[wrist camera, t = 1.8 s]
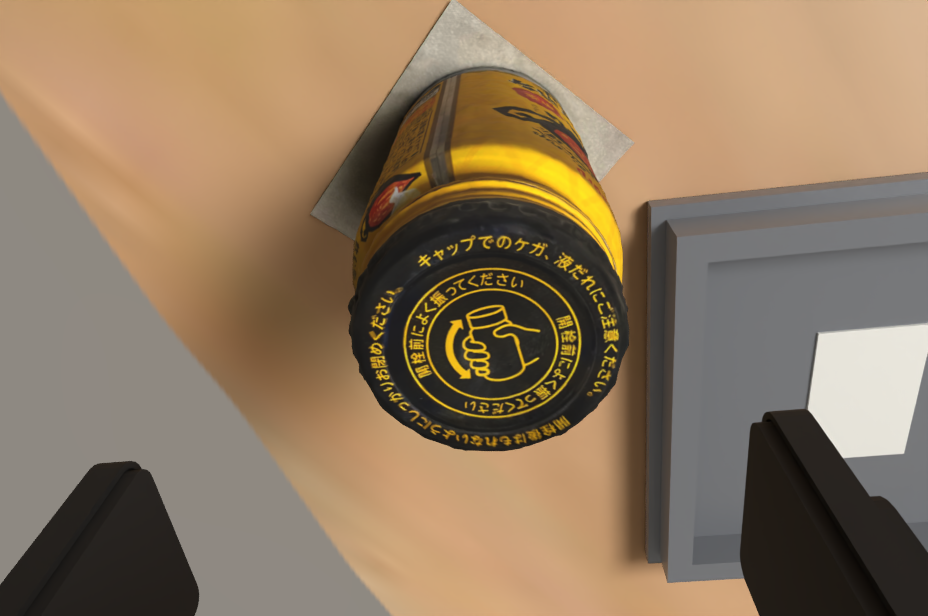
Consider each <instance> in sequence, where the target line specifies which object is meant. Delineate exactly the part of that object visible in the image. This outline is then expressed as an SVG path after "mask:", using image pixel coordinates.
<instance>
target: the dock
mask: <svg viewBox="0 0 928 616" xmlns="http://www.w3.org/2000/svg"><path fill="white" fill-rule="evenodd" d="M795 409H806V410H809V412H810V413H811V414H812V415H813V416H814V418H815V419H816V421H817V422H818V423H819V425H820V426H821V428H822V429H823V430H824V432H825V433H826V435H827V436H828V438H829V439H830V440H831V442H832V443H833V445H834V446H835V447H836V449H837V450H838V452H839V453H840V455H841V456H842V457H843V459H844V460H845V462H846V463H847V465H848V466H849V467H850V469H851V470H852V472H853V473H854V474H855V476H856V477H857V479H858V480H859V482H860V483H861V484H862V486H863V487H864V489H865V490H866V491H867V493H868V494H869V496H870V497H871V496H881V497H883V498H885V499H887V500H888V501H889V502H890V503H891V504H892V505H893V506H894V507H895V508H896V510H897V511H898V512H899V514H900V515H901V516H902V518H903V519H904V521H905V522H906V523H907V525H908V526H909V527H910V529H911V530H912V531H913V533H914V534H915V535H916V537H917V538H918V540H919V541H920V542H921V544H922V545H923V546H924V548H925V549H926V550H927V552H928V172H924V173H915V174H905V175H895V176H886V177H876V178H866V179H857V180H847V181H837V182H828V183H818V184H808V185H799V186H789V187H779V188H770V189H760V190H750V191H741V192H731V193H721V194H712V195H702V196H692V197H683V198H673V199H663V200H654V201H648V233H647V397H646V557H647V560H648V563H662V565H663V569H664V572H665V576H666V579H667V583H673V582H690V581H707V580H724V579H741V578H744V576H743V572H742V568H741V563H740V544H741V532H742V520H743V508H744V496H745V484H746V472H747V460H748V448H749V436H750V427H751V425H752V423H755V422H762V417H763V415H764V413H766V412H769V411H782V410H795Z"/></svg>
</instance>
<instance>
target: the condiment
mask: <svg viewBox="0 0 928 616" xmlns="http://www.w3.org/2000/svg"><path fill="white" fill-rule="evenodd" d="M633 144H634V142H633V141H632V140H631V139H629V138H628V137H627V136H626V135H624V134H623V133H622V132H621V131H619V130H618V129H617V128H616V127H614V126H613V125H612V124H611V123H609V122H608V121H607V120H606V119H605V118H603V117H602V116H601V115H599V114H598V113H597V112H596V111H594V110H593V109H592V108H591V107H589V106H588V105H587V104H586V103H584V102H583V101H582V100H581V99H580V98H578V97H577V96H576V95H574V94H573V93H572V92H571V91H569V90H568V89H567V88H566V87H564V86H563V85H562V84H561V83H560V82H558V81H557V80H556V79H554V78H553V77H552V76H551V75H549V74H548V73H547V72H546V71H544V70H543V69H542V68H541V67H539V66H538V65H537V64H536V63H534V62H533V61H532V60H530V59H529V58H528V57H527V56H525V55H524V54H523V53H522V52H520V51H519V50H518V49H517V48H515V47H514V46H513V45H512V44H510V43H509V42H508V41H506V40H505V39H504V38H503V37H502V36H501V35H499V34H498V33H496V32H494V31H493V30H492V29H491V28H490V27H488V26H487V25H486V24H485V23H484V22H482V21H481V20H480V19H478V18H477V17H476V16H475V15H473V14H472V13H471V12H470V11H468V10H467V9H466V8H465V7H463V6H462V5H461V4H460V3H458V2H457V1H456V0H451V2H450V3H449V5H448V6H447V8H446V9H445V11H444V12H443V14H442V15H441V17H440V18H439V20H438V21H437V23H436V24H435V26H434V28H433V29H432V31H431V32H430V34H429V35H428V37H427V38H426V40H425V41H424V43H423V44H422V46H421V47H420V49H419V50H418V52H417V53H416V55H415V56H414V58H413V60H412V61H411V62H410V64H409V65H408V67H407V68H406V70H405V71H404V73H403V74H402V76H401V77H400V79H399V80H398V82H397V83H396V85H395V86H394V88H393V90H392V91H391V93H390V94H389V96H388V97H387V99H386V100H385V102H384V103H383V105H382V106H381V108H380V109H379V111H378V112H377V114H376V115H375V116H374V118H373V120H372V121H371V123H370V124H369V126H368V127H367V129H366V130H365V132H364V133H363V135H362V136H361V138H360V140H359V141H358V143H357V144H356V145H355V147H354V149H353V150H352V152H351V153H350V154H349V156H348V157H347V159H346V161H345V162H344V164H343V165H342V166H341V168H340V169H339V171H338V173H337V174H336V176H335V177H334V179H333V180H332V182H331V183H330V185H329V187H328V188H327V190H326V191H325V192H324V194H323V195H322V197H321V198H320V200H319V201H318V203H317V205H316V206H315V208H314V209H313V211H312V212H311V215H312V216H314V217H316V218H317V219H319V220H321V221H322V222H324V223H325V224H327V225H328V226H331V227H333V228H335V229H337V230H338V231H340V232H341V233H342V234H344V235H346V236H347V237H349V238H351V239H352V240H354V241H355V242H354V251H353V285H354V288H355V295H354V296H353V297H352V298H351V300H350V302H349V305H348V310H349V312H350V314H351V321H350V325H349V334H350V336H351V338H352V349H353V354H354V356H355V358H356V359H357V361H358V363H359V373H360V374H361V375H362V376H363V378H364V380H366V382H367V384H368V385H369V387H370V389H371V390H372V392H373V394H374V396H375V398H376V399H377V401H378V403H379V404H380V406H381V407H382V408H383V409H384V410H385V411H386V412H387V413H389V414H390V415H391V416H393V417H394V418H395V419H396V420H398V421H399V422H400V423H402V424H403V425H405V426H406V427H409V428H411V429H412V430H414V431H415V432H417V433H418V434H420V435H421V436H423V437H424V438H427V439H429V440H433V441H436V442H439V443H441V444H444V445H448V446H450V447H452V448H454V449H462V450H465V451H467V450H475V451H507V450H514V449H520V448H523V447H525V446H530V445H533V444H536V443H539V442H541V441H544V440H547V439H549V438H552V437H554V436H559V435H562V434H564V433H566V432H567V431H568V430H569V429H571V428H572V427H573V426H575V425H576V424H578V423H579V422H580V421H582V420H583V419H584V418H585V417H586V416H587V415H588V414H589V413H591V412H592V411H594V410H595V409H596V408H597V406H598V404H599V403H600V402H601V401H602V400H603V399H604V398H605V397H606V396H607V395H608V393H609V392H610V390H611V389H612V387H613V386H614V385H615V383H616V380H617V374H618V371H619V367H620V364H621V361H622V358H623V356H624V354H625V351H626V349H627V347H628V346H629V325H628V320H627V311H628V307H627V305H626V301H625V298H624V296H623V293H622V291H623V285H622V274H623V250H622V244H621V237H620V231H619V228H618V226H617V223H616V220H615V217H614V214H613V212H612V210H611V208H610V205H609V203H608V201H607V199H606V196H605V193H604V191H603V190H602V188H601V185H600V184H599V182H600V181H601V180H602V179H603V178H604V177H605V175H606V174H607V173H608V172H609V170H610V169H611V168H612V167H613V166H614V165H615V163H616V162H617V161H618V160H619V159H620V158H621V157H622V155H623V154H624V153H625V152H626V151H627V150H628V149H629V148H630V147H631V146H632V145H633Z"/></svg>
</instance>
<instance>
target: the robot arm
mask: <svg viewBox="0 0 928 616" xmlns="http://www.w3.org/2000/svg"><path fill="white" fill-rule="evenodd" d="M740 563H741V568H742V572H743V576H744V579H745V581H746V584H747V586H748V589H749V591H750V594H751V596H752V598H753V601H754V603H755V606H756V608H757V611H758V613H759V616H928V552H927V550H926V549H925V548H924V546H923V545H922V544H921V542H920V541H919V540H918V538H917V537H916V535H915V534H914V533H913V531H912V530H911V529H910V527H909V526H908V525H907V523H906V522H905V521H904V519H903V518H902V516H901V515H900V514H899V512H898V511H897V510H896V508H895V507H894V506H893V505H892V504H891V503H890V502H889V501H888V500H887V499H885V498H883V497H881V496H871V497H870V496H869V494H868V493H867V491H866V490H865V489H864V487H863V486H862V484H861V483H860V482H859V480H858V479H857V477H856V476H855V474H854V473H853V472H852V470H851V469H850V467H849V466H848V465H847V463H846V462H845V460H844V459H843V457H842V456H841V455H840V453H839V452H838V450H837V449H836V447H835V446H834V445H833V443H832V442H831V440H830V439H829V438H828V436H827V435H826V433H825V432H824V430H823V429H822V428H821V426H820V425H819V423H818V422H817V421H816V419H815V418H814V416H813V415H812V414H811V413H810V412H809V410H806V409H795V410H782V411H769V412H766V413H764V415H763V417H762V422H755V423H752V425H751V427H750V436H749V448H748V460H747V472H746V484H745V496H744V508H743V520H742V532H741V544H740ZM198 602H199V590H198V586H197V583H196V581H195V578H194V576H193V574H192V571H191V569H190V567H189V564H188V562H187V559H186V557H185V554H184V552H183V549H182V547H181V545H180V542H179V540H178V537H177V535H176V533H175V530H174V528H173V525H172V523H171V521H170V518H169V516H168V513H167V511H166V509H165V506H164V504H163V502H162V499H161V497H160V494H159V492H158V489H157V487H156V485H155V482H154V480H153V477H152V475H151V474H150V472H149V471H148V470H144V469H141V467H140V466H139V464H137V463H136V462H132V461H126V462H113V463H100V464H97V465H94V466H93V467H92V468H91V469H90V470H89V471H88V472H87V474H86V475H85V476H84V478H83V479H82V480H81V481H80V483H79V484H78V485H77V486H76V488H75V489H74V490H73V492H72V493H71V494H70V495H69V497H68V498H67V499H66V501H65V502H64V503H63V505H62V506H61V507H60V509H59V510H58V511H57V512H56V514H55V515H54V516H53V517H52V519H51V520H50V521H49V523H48V524H47V525H46V526H45V528H44V529H43V530H42V532H41V533H40V535H39V536H38V537H37V538H36V539H35V541H34V542H33V543H32V545H31V546H30V547H29V548H28V550H27V551H26V552H25V554H24V555H23V556H22V557H21V559H20V560H19V561H18V563H17V564H16V565H15V567H14V568H13V569H12V570H11V572H10V573H9V574H8V575H7V577H6V578H5V579H4V581H3V582H2V583H1V585H0V616H194V615H195V613H196V610H197V607H198Z"/></svg>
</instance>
